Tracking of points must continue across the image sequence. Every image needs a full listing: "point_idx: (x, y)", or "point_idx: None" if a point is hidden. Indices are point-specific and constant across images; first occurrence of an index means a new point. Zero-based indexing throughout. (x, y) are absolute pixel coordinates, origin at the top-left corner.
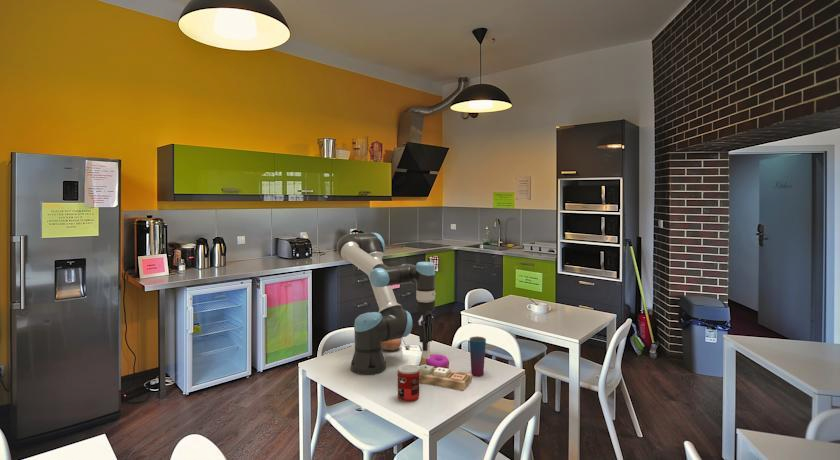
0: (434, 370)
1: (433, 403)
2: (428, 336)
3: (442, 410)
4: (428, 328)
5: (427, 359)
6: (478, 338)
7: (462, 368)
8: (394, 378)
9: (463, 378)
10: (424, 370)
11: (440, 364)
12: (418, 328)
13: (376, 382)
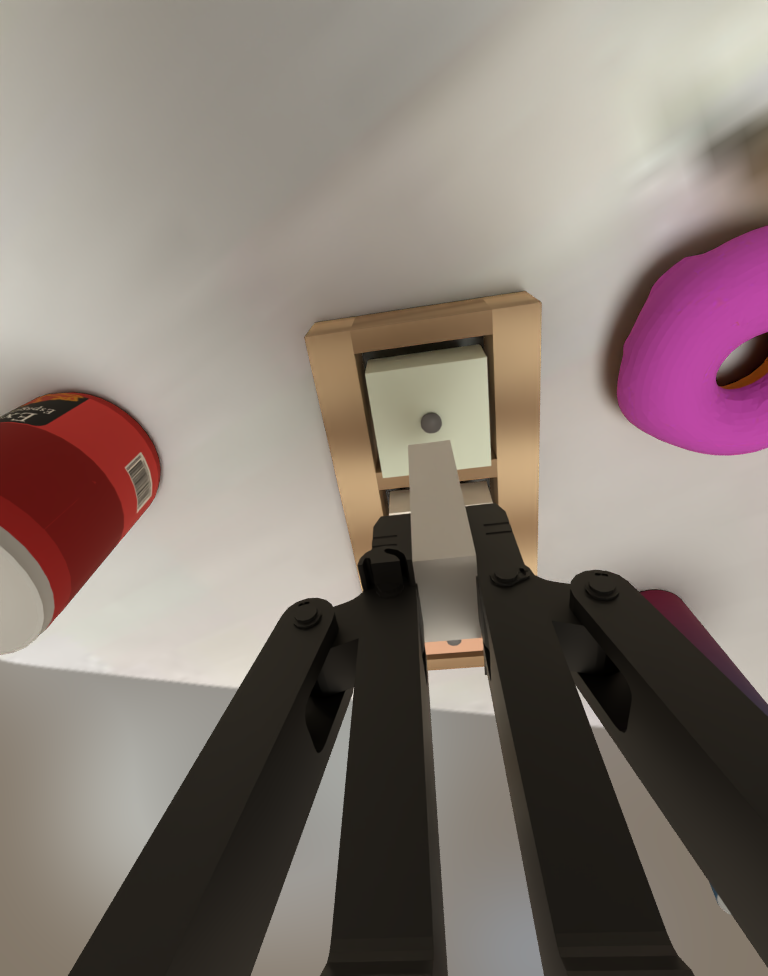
0: (409, 511)
1: (155, 589)
2: (494, 697)
3: (133, 643)
4: (530, 888)
5: (705, 284)
6: None
7: (723, 517)
8: (266, 132)
9: (443, 652)
10: (376, 438)
11: (648, 429)
12: (83, 960)
13: (63, 10)
